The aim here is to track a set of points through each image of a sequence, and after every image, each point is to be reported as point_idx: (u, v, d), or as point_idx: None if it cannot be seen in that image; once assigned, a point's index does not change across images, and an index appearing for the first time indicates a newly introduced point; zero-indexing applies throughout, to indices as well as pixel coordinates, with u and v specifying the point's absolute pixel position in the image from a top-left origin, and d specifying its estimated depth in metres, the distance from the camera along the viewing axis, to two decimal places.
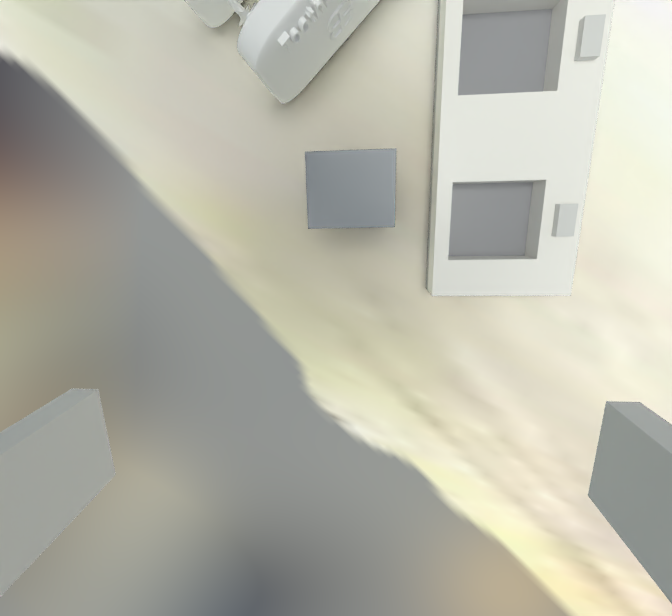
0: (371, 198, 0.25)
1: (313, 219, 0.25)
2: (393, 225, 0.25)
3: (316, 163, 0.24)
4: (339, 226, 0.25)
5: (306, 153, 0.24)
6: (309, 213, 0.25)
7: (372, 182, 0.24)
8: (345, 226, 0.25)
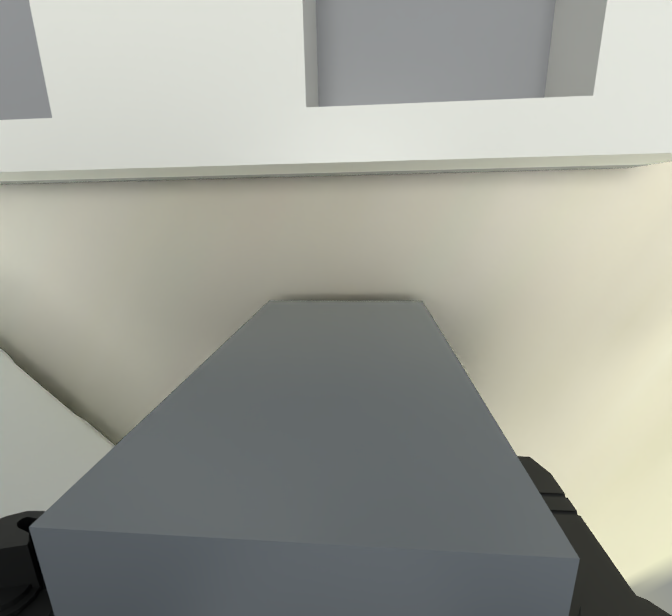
0: None
1: None
2: (563, 563, 0.03)
3: None
4: None
5: None
6: None
7: None
8: None
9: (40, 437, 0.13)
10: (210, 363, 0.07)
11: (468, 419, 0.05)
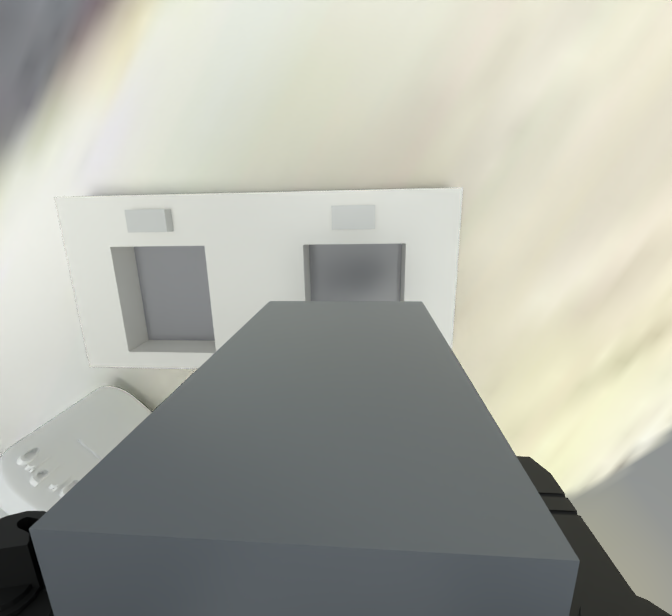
0: None
1: None
2: (563, 565, 0.03)
3: None
4: None
5: None
6: None
7: None
8: None
9: None
10: (210, 363, 0.07)
11: (468, 420, 0.05)
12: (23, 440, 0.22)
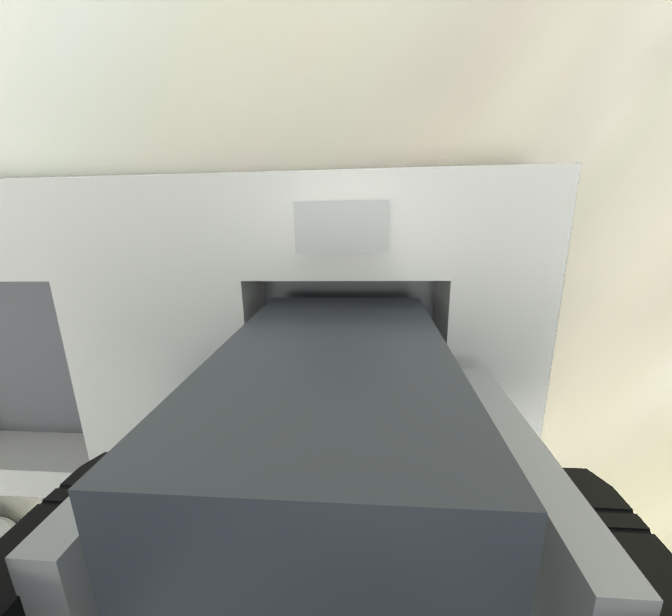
0: None
1: None
2: (534, 518, 0.04)
3: None
4: None
5: None
6: None
7: (265, 608, 0.04)
8: None
9: None
10: (219, 354, 0.08)
11: (457, 402, 0.06)
12: None
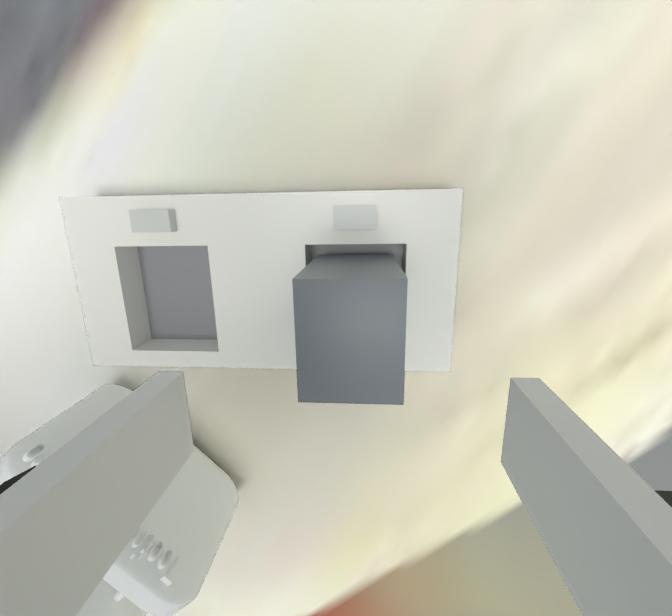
0: (362, 314, 0.16)
1: (389, 396, 0.17)
2: (405, 280, 0.16)
3: (313, 387, 0.17)
4: (402, 361, 0.17)
5: (300, 400, 0.17)
6: (381, 401, 0.17)
7: (340, 312, 0.16)
8: (402, 352, 0.16)
9: (191, 461, 0.30)
10: (308, 265, 0.20)
11: (395, 270, 0.18)
12: (29, 437, 0.23)
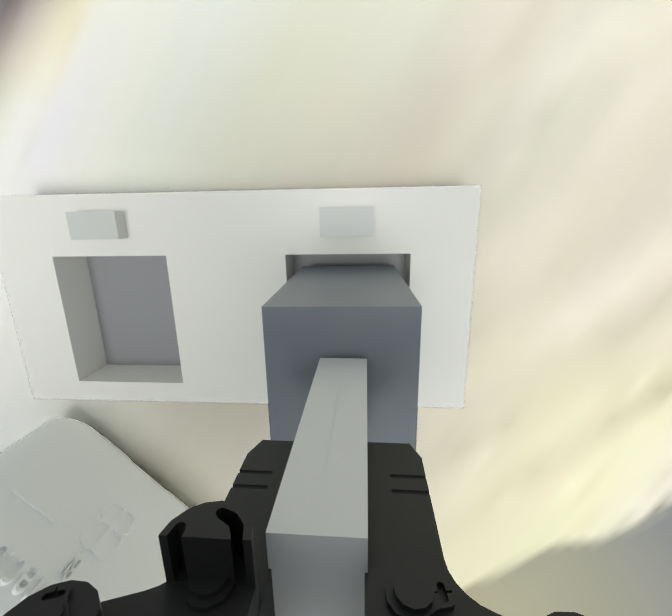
0: (359, 354, 0.12)
1: None
2: (418, 309, 0.11)
3: None
4: (413, 416, 0.12)
5: None
6: None
7: (328, 352, 0.12)
8: (414, 405, 0.12)
9: (155, 507, 0.26)
10: (288, 283, 0.15)
11: (402, 292, 0.13)
12: None
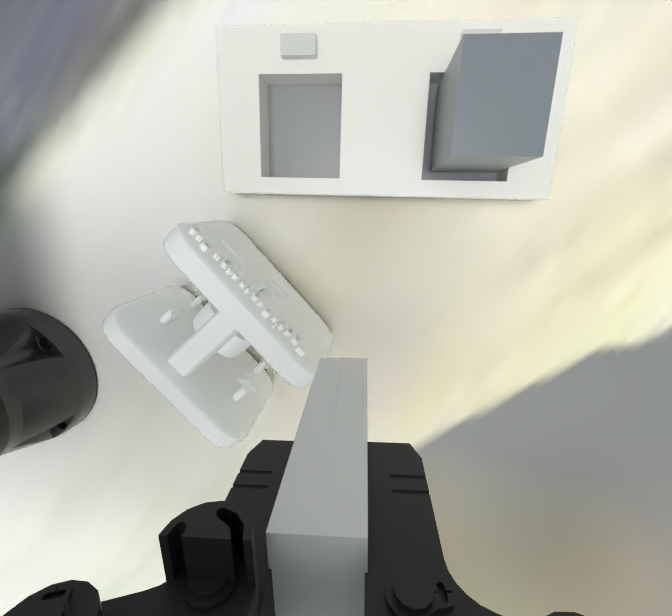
0: (519, 67, 0.19)
1: (532, 148, 0.20)
2: (560, 34, 0.19)
3: (466, 141, 0.21)
4: (547, 113, 0.20)
5: (453, 153, 0.21)
6: (524, 153, 0.20)
7: (500, 66, 0.19)
8: (549, 104, 0.20)
9: (295, 295, 0.34)
10: (452, 62, 0.23)
11: None
12: (187, 223, 0.26)
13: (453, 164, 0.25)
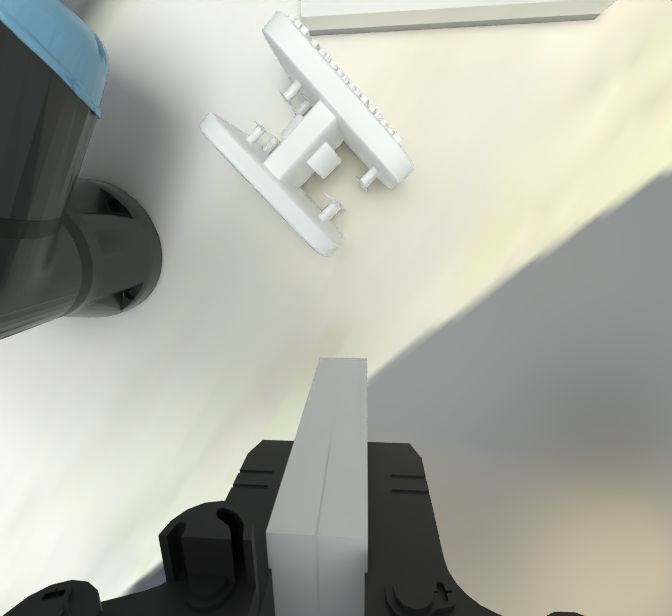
0: None
1: None
2: None
3: None
4: None
5: None
6: None
7: None
8: None
9: None
10: None
11: None
12: None
13: None
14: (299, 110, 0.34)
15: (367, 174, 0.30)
